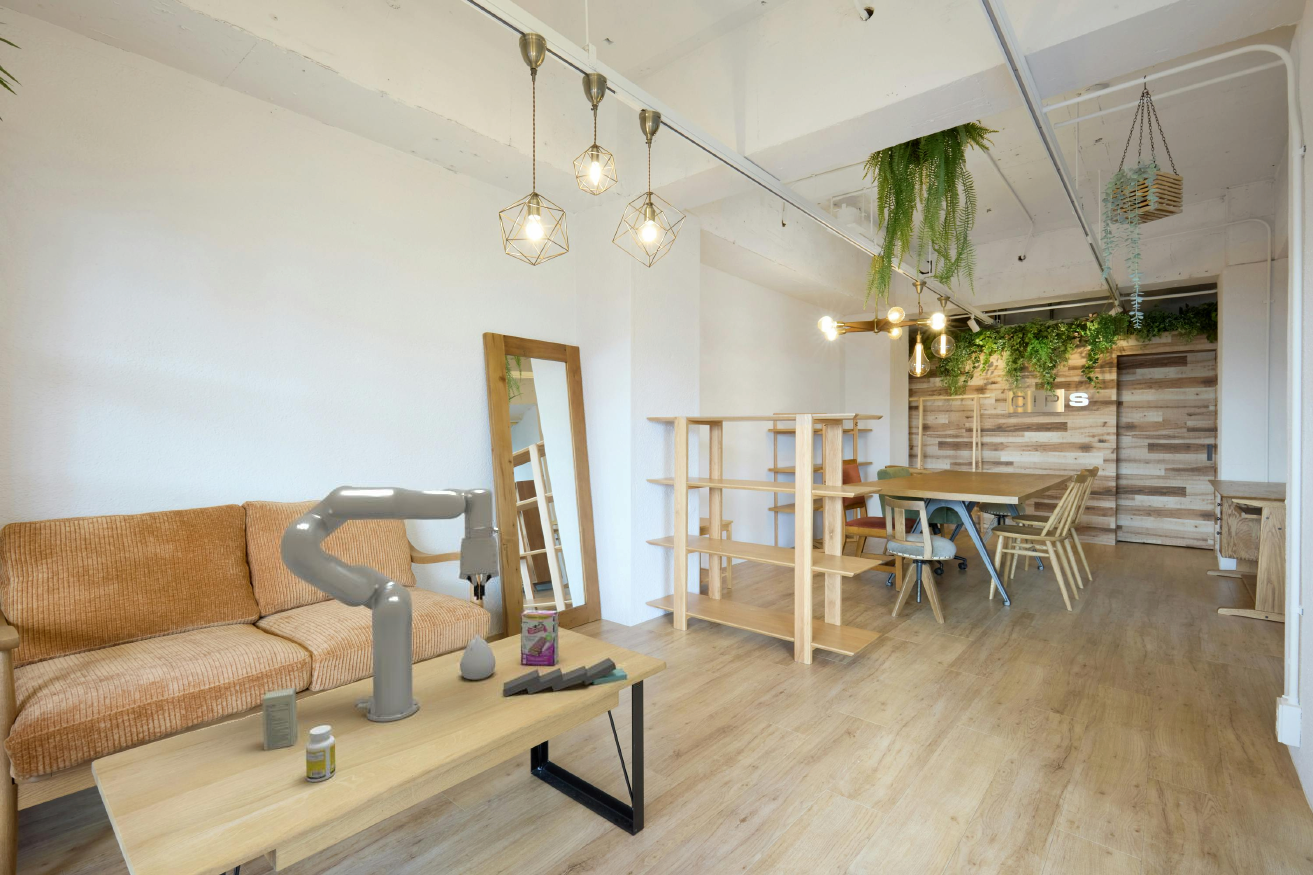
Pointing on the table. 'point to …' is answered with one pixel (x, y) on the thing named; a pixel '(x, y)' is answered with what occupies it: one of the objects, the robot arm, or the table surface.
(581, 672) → the domino
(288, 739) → the skincare box
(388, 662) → the robot arm
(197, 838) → the table surface
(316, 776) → the supplement bottle
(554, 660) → the candy bar box
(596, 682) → the domino
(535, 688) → the domino
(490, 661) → the grey teardrop lump
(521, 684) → the domino
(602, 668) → the domino
